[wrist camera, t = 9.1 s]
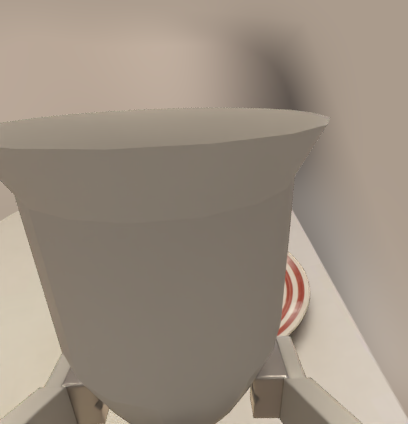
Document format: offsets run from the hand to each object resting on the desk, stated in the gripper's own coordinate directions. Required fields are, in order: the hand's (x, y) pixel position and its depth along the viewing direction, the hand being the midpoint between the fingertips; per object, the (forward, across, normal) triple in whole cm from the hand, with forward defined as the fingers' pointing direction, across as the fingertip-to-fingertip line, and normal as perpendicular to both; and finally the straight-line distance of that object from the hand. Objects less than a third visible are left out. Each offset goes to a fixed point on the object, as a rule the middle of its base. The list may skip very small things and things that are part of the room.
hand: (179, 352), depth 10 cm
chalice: (-1, 0, +10) cm, 10 cm away
